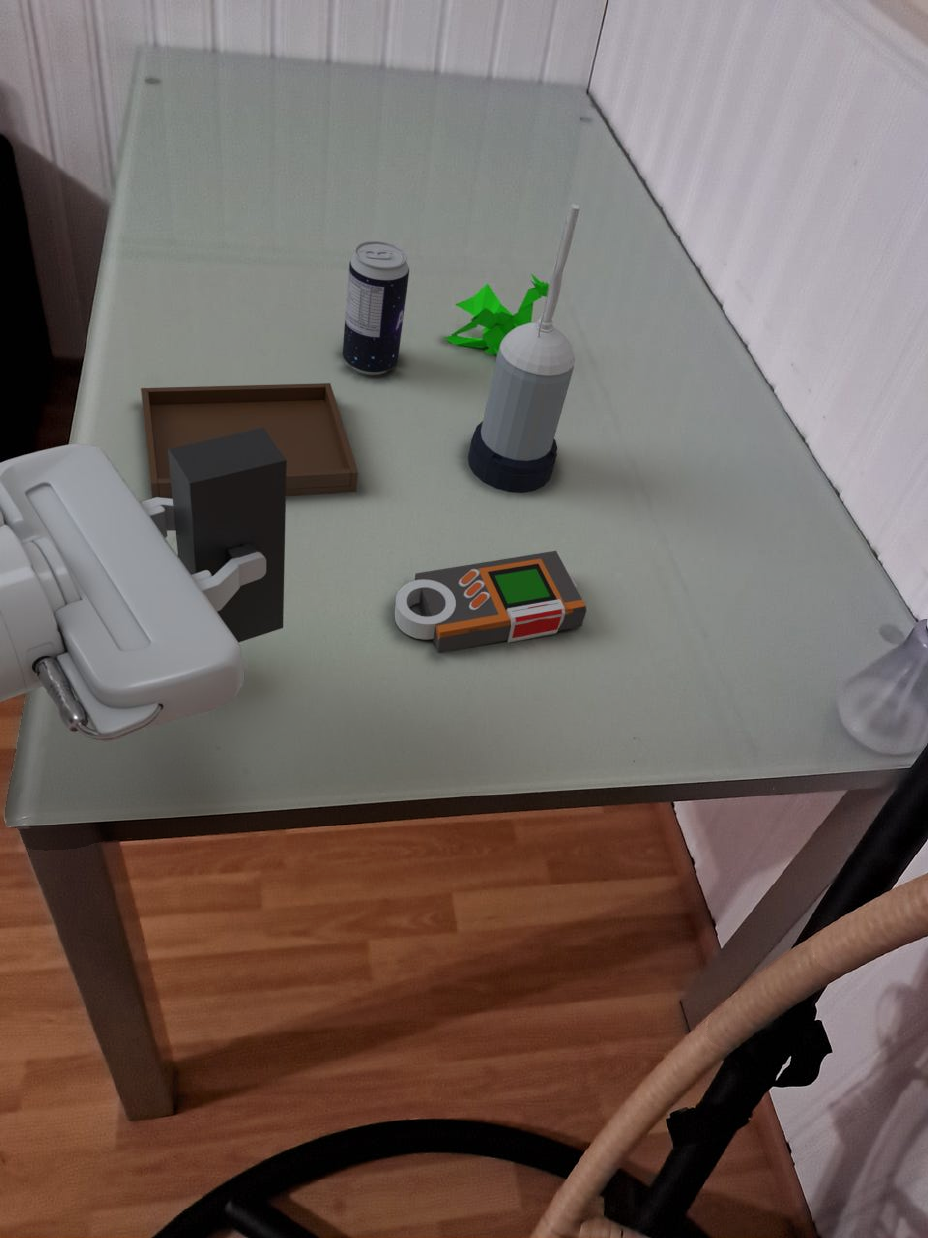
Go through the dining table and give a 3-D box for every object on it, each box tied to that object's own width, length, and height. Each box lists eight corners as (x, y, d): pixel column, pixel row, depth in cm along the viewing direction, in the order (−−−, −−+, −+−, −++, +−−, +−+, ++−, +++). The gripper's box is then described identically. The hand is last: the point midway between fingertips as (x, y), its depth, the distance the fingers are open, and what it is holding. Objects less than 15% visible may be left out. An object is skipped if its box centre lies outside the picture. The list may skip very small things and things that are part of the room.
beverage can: (399, 381, 97) (413, 271, 88) (343, 378, 96) (352, 266, 87) (394, 349, 100) (407, 241, 92) (340, 346, 99) (348, 236, 90)
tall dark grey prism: (183, 620, 62) (167, 448, 52) (267, 595, 65) (267, 426, 55) (202, 655, 60) (189, 483, 50) (286, 627, 63) (291, 458, 53)
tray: (152, 504, 79) (150, 483, 78) (143, 408, 87) (140, 387, 86) (356, 492, 84) (358, 472, 83) (329, 402, 92) (330, 382, 91)
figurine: (554, 372, 101) (558, 291, 95) (442, 370, 102) (438, 290, 95) (554, 341, 106) (558, 261, 99) (446, 339, 106) (443, 260, 100)
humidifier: (562, 456, 93) (637, 204, 74) (536, 504, 87) (609, 245, 69) (485, 427, 94) (540, 172, 75) (454, 473, 88) (506, 209, 70)
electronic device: (386, 575, 75) (560, 546, 79) (384, 600, 77) (554, 571, 81) (410, 639, 71) (592, 606, 75) (407, 664, 73) (585, 630, 77)
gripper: (69, 713, 43) (333, 609, 50) (-69, 457, 53) (166, 400, 60) (87, 789, 48) (327, 684, 55) (-43, 540, 58) (173, 478, 65)
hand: (242, 534), depth 57 cm, fingers closed on tall dark grey prism, 3 cm apart
